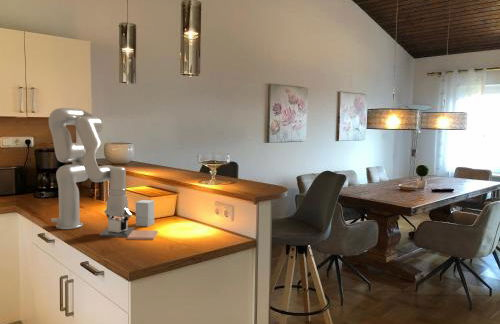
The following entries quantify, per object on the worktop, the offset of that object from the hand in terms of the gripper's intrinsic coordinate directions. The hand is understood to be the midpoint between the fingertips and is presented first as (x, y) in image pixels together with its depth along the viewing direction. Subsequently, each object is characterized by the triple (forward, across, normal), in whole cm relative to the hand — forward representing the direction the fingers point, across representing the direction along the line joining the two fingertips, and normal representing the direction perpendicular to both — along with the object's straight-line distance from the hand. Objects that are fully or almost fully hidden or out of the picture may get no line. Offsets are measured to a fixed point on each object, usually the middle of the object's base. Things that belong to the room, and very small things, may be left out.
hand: (117, 228), depth 203 cm
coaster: (+2, +14, +2) cm, 14 cm away
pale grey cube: (+1, 0, 0) cm, 1 cm away
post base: (+2, 0, 0) cm, 2 cm away
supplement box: (+3, +1, +20) cm, 20 cm away
